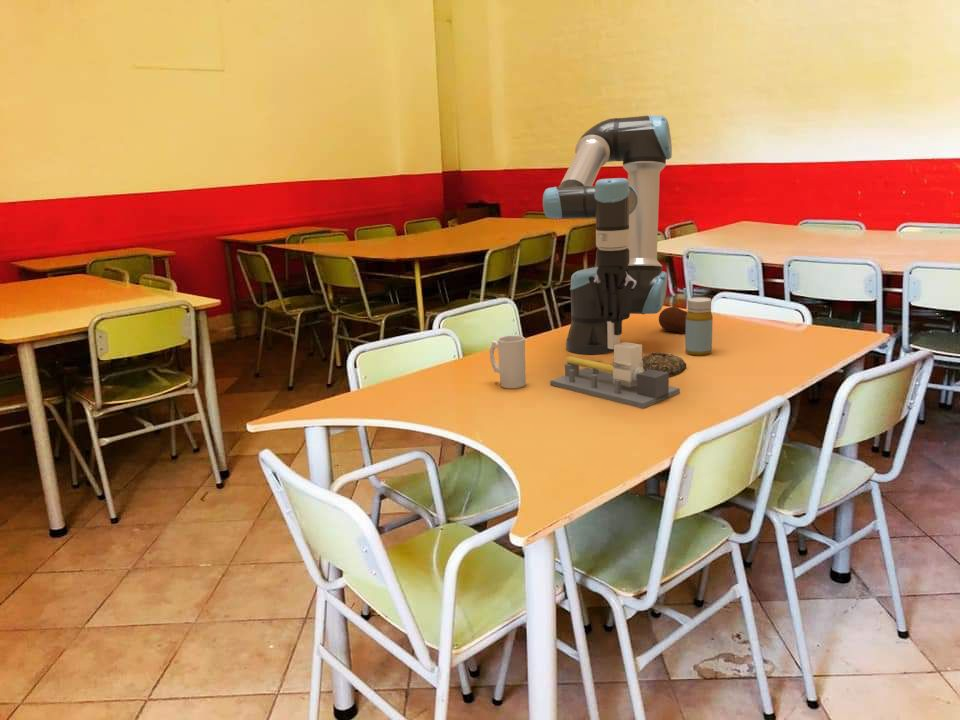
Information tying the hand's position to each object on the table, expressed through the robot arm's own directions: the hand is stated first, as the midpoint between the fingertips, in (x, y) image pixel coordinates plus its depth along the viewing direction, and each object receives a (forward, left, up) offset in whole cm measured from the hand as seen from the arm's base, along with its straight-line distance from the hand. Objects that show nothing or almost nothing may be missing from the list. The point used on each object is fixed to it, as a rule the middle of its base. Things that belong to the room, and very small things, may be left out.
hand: (613, 347), depth 177 cm
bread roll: (-1, +20, -11) cm, 23 cm away
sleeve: (+4, 0, -8) cm, 9 cm away
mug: (-23, -13, -11) cm, 29 cm away
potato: (-21, +57, -11) cm, 61 cm away
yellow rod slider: (0, 0, -10) cm, 10 cm away
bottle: (-2, +40, -11) cm, 41 cm away
